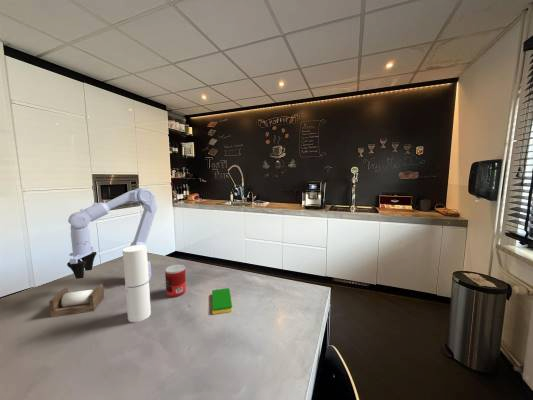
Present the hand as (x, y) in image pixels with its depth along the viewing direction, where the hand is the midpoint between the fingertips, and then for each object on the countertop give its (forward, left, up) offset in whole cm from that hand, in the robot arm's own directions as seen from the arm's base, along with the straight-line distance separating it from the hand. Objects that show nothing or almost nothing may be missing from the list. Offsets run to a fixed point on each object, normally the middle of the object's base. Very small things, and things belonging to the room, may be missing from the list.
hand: (84, 274), depth 91 cm
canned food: (-36, +8, -10) cm, 38 cm away
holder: (-1, +8, -10) cm, 13 cm away
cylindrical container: (-25, +21, -10) cm, 34 cm away
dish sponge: (-54, +21, -10) cm, 58 cm away
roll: (-1, +8, -6) cm, 10 cm away
